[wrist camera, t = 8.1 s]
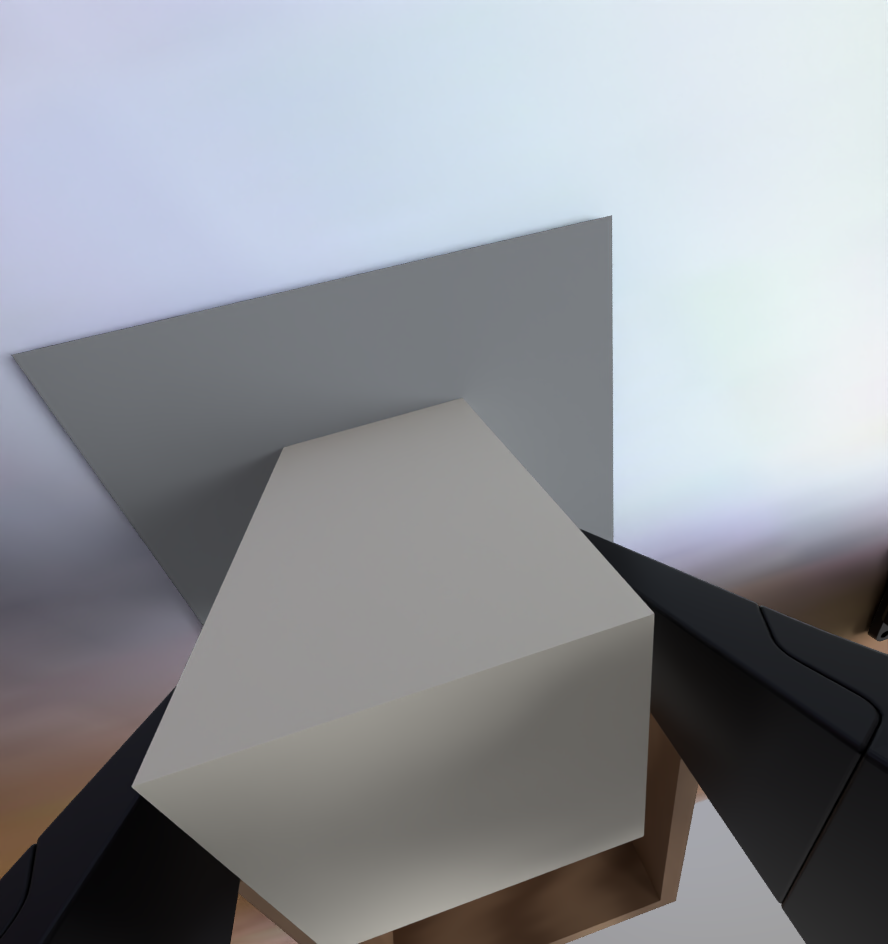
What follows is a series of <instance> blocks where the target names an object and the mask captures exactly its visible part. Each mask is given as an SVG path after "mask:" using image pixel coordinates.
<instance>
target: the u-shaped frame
mask: <svg viewBox="0 0 888 944" xmlns="http://www.w3.org/2000/svg"><path fill="white" fill-rule="evenodd" d="M697 788H698V782H697V781H696V779H695V778H694V776H693V775H692V774H691V772H690V771H689V769H688V768H687V766H686V765H685V763H684V762H683V760H682V759H681V757H680V756H679V754H678V753H677V751H676V750H675V748H674V747H673V745H672V744H671V742H670V741H669V739H668V738H667V736H666V735H665V734H664V732H663V731H662V729H661V728H660V726H659V725H658V723H657V722H656V720H655V719H654V717H653V716H652V714H651V713H650V718H649V739H648V760H647V780H646V801H645V822H644V836H643V837H640V838H638V839H635V840H632V841H630V842H627V843H624V844H622V845H619V846H616V847H614V848H611V849H608V850H606V851H603V852H600V853H598V854H595V855H592V856H590V857H587V858H584V859H582V860H579V861H576V862H574V863H571V864H568V865H566V866H563V867H560V868H558V869H555V870H553V871H550V872H547V873H545V874H542V875H539V876H537V877H534V878H531V879H529V880H526V881H523V882H521V883H518V884H515V885H513V886H510V887H507V888H505V889H502V890H499V891H497V892H494V893H491V894H489V895H486V896H483V897H481V898H478V899H475V900H473V901H470V902H467V903H465V904H462V905H459V906H457V907H454V908H451V909H449V910H446V911H443V912H441V913H438V914H435V915H433V916H430V917H427V918H425V919H422V920H419V921H417V922H414V923H411V924H409V925H406V926H403V927H401V928H398V929H395V930H393V931H390V932H388V933H385V934H382V935H380V936H377V937H374V938H372V939H369V940H366V941H364V942H361V943H358V944H565V943H568V942H570V941H573V940H576V939H578V938H581V937H584V936H586V935H588V934H591V933H594V932H596V931H599V930H602V929H604V928H607V927H609V926H612V925H615V924H617V923H620V922H622V921H625V920H627V919H630V918H633V917H635V916H638V915H640V914H643V913H645V912H648V911H651V910H653V909H656V908H658V907H661V906H664V905H666V904H669V903H671V902H674V901H676V897H677V892H678V887H679V881H680V876H681V871H682V866H683V861H684V855H685V850H686V845H687V840H688V835H689V830H690V824H691V819H692V814H693V809H694V804H695V799H696V793H697ZM238 893H239V894H240V895H241V896H243V897H244V898H245V899H246V900H247V901H249V902H250V903H251V904H252V905H253V906H254V907H256V908H257V909H258V910H259V911H260V912H262V913H263V914H264V915H265V916H266V917H268V918H269V919H270V920H271V921H272V922H274V923H275V924H276V925H277V926H278V927H280V928H281V929H282V930H283V931H284V932H286V933H287V934H288V935H289V936H290V937H292V938H293V939H294V940H295V941H296V942H298V943H299V944H317V943H316V942H315V941H313V940H312V939H311V938H310V937H309V936H307V935H306V934H305V933H304V932H303V931H302V930H300V929H299V928H298V927H297V926H296V925H294V924H293V923H292V922H291V921H290V920H289V919H287V918H286V917H285V916H284V915H283V914H281V913H280V912H279V911H278V910H277V909H275V908H274V907H273V906H272V905H271V904H270V903H268V902H267V901H266V900H265V899H264V898H262V897H261V896H260V895H259V894H258V893H257V892H255V891H254V890H253V889H252V888H251V887H249V886H248V885H247V884H246V883H245V882H243V881H242V880H241V879H240V885H239V891H238Z"/></svg>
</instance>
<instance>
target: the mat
mask: <svg viewBox="0 0 888 944" xmlns="http://www.w3.org/2000/svg"><path fill="white" fill-rule="evenodd" d="M12 357H13V358H14V359H15V361H16V362H17V364H18V365H19V366H20V368H21V369H22V371H23V372H24V373H25V375H26V376H27V378H28V379H29V381H30V382H31V383H32V385H33V386H34V388H35V389H36V390H37V392H38V393H39V395H40V396H41V397H42V399H43V400H44V402H45V403H46V405H47V406H48V407H49V409H50V410H51V412H52V413H53V414H54V416H55V417H56V419H57V420H58V421H59V423H60V424H61V426H62V427H63V429H64V430H65V431H66V433H67V434H68V436H69V437H70V438H71V440H72V441H73V443H74V444H75V445H76V447H77V448H78V450H79V451H80V453H81V454H82V455H83V457H84V458H85V460H86V461H87V462H88V464H89V465H90V467H91V468H92V469H93V471H94V472H95V474H96V475H97V477H98V478H99V479H100V481H101V482H102V484H103V485H104V486H105V488H106V489H107V491H108V492H109V493H110V495H111V496H112V498H113V499H114V501H115V502H116V503H117V505H118V506H119V508H120V509H121V510H122V512H123V513H124V515H125V516H126V517H127V519H128V520H129V522H130V523H131V525H132V526H133V527H134V529H135V530H136V532H137V533H138V534H139V536H140V537H141V539H142V540H143V541H144V543H145V544H146V546H147V547H148V549H149V550H150V551H151V553H152V554H153V556H154V557H155V558H156V560H157V561H158V563H159V564H160V565H161V567H162V568H163V570H164V571H165V573H166V574H167V575H168V577H169V578H170V580H171V581H172V582H173V584H174V585H175V587H176V588H177V589H178V591H179V592H180V594H181V595H182V597H183V598H184V599H185V601H186V602H187V604H188V605H189V606H190V608H191V609H192V611H193V612H194V613H195V615H196V616H197V618H198V619H199V621H200V622H201V623H202V625H203V626H204V624H205V622H206V619H207V617H208V615H209V613H210V610H211V608H212V606H213V604H214V601H215V599H216V597H217V595H218V593H219V590H220V588H221V586H222V584H223V581H224V579H225V577H226V575H227V572H228V570H229V568H230V566H231V564H232V561H233V559H234V557H235V555H236V552H237V550H238V548H239V546H240V543H241V541H242V539H243V537H244V535H245V532H246V530H247V528H248V526H249V523H250V521H251V519H252V517H253V514H254V512H255V510H256V508H257V506H258V503H259V501H260V499H261V497H262V494H263V492H264V490H265V488H266V485H267V483H268V481H269V479H270V477H271V474H272V472H273V470H274V468H275V465H276V463H277V461H278V459H279V456H280V454H281V452H282V450H283V448H284V447H287V446H290V445H294V444H297V443H301V442H305V441H308V440H312V439H316V438H319V437H323V436H326V435H330V434H334V433H337V432H341V431H344V430H348V429H352V428H355V427H359V426H362V425H366V424H370V423H373V422H377V421H381V420H384V419H388V418H391V417H395V416H399V415H402V414H406V413H409V412H413V411H417V410H420V409H424V408H428V407H431V406H435V405H438V404H442V403H446V402H449V401H453V400H456V399H460V398H463V399H464V400H465V401H466V402H467V404H468V405H469V406H470V407H471V408H472V409H473V410H474V411H475V413H476V414H477V415H478V416H479V417H480V418H481V419H482V420H483V422H484V423H485V424H486V425H487V426H488V427H489V428H490V429H491V431H492V432H493V433H494V434H495V435H496V436H497V437H498V438H499V440H500V441H501V442H502V443H503V444H504V445H505V446H506V447H507V449H508V450H509V451H510V452H511V453H512V454H513V455H514V456H515V458H516V459H517V460H518V461H519V462H520V463H521V464H522V465H523V466H524V468H525V469H526V470H527V471H528V472H529V473H530V474H531V475H532V477H533V478H534V479H535V480H536V481H537V482H538V483H539V484H540V486H541V487H542V488H543V489H544V490H545V491H546V492H547V493H548V495H549V496H550V497H551V498H552V499H553V500H554V501H555V502H556V504H557V505H558V506H559V507H560V508H561V509H562V510H563V511H564V513H565V514H566V515H567V516H568V517H569V518H570V519H571V520H572V522H573V523H574V524H575V525H576V526H577V527H578V528H579V529H583V530H585V531H587V532H590V533H592V534H594V535H597V536H599V537H602V538H604V539H606V540H609V541H611V542H613V346H612V216H607V217H603V218H599V219H595V220H590V221H586V222H582V223H577V224H573V225H569V226H564V227H560V228H556V229H551V230H547V231H543V232H539V233H534V234H530V235H526V236H521V237H517V238H513V239H508V240H504V241H500V242H496V243H491V244H487V245H483V246H478V247H474V248H470V249H465V250H461V251H457V252H453V253H448V254H444V255H440V256H435V257H431V258H427V259H422V260H418V261H414V262H410V263H405V264H401V265H397V266H392V267H388V268H384V269H379V270H375V271H371V272H366V273H362V274H358V275H354V276H349V277H345V278H341V279H336V280H332V281H328V282H323V283H319V284H315V285H311V286H306V287H302V288H298V289H293V290H289V291H285V292H280V293H276V294H272V295H268V296H263V297H259V298H255V299H250V300H246V301H242V302H237V303H233V304H229V305H225V306H220V307H216V308H212V309H207V310H203V311H199V312H194V313H190V314H186V315H181V316H177V317H173V318H169V319H164V320H160V321H156V322H151V323H147V324H143V325H138V326H134V327H130V328H126V329H121V330H117V331H113V332H108V333H104V334H100V335H95V336H91V337H87V338H83V339H78V340H74V341H70V342H65V343H61V344H57V345H52V346H48V347H44V348H40V349H35V350H31V351H27V352H22V353H18V354H14V355H12Z"/></svg>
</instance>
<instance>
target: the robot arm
mask: <svg viewBox="0 0 888 944" xmlns="http://www.w3.org/2000/svg"><path fill="white" fill-rule="evenodd" d="M580 531H581V532H582V533H583V534H584V535H585V536H586V537H587V538H588V539H589V541H590V542H591V543H592V544H593V545H594V546H595V547H596V548H597V550H598V551H599V552H600V553H601V554H602V555H603V556H604V557H605V559H606V560H607V561H608V562H609V563H610V564H611V565H612V566H613V568H614V569H615V570H616V571H617V572H618V573H619V574H620V575H621V577H622V578H623V579H624V580H625V581H626V582H627V583H628V584H629V586H630V587H631V588H632V589H633V590H634V591H635V592H636V593H637V595H638V596H639V597H640V598H641V599H642V600H643V601H644V602H645V604H646V605H647V606H648V607H649V608H650V609H651V610H652V611H653V612H654V634H653V655H652V676H651V697H650V713H651V714H652V716H653V717H654V719H655V720H656V722H657V723H658V725H659V726H660V728H661V729H662V731H663V732H664V734H665V735H666V736H667V738H668V739H669V741H670V742H671V744H672V745H673V747H674V748H675V750H676V751H677V753H678V754H679V756H680V757H681V759H682V760H683V762H684V763H685V765H686V766H687V768H688V769H689V771H690V772H691V774H692V775H693V776H694V778H695V779H696V781H697V782H698V784H699V785H700V787H701V788H702V790H703V791H704V793H705V794H706V796H707V797H708V799H709V800H710V802H711V803H712V805H713V806H714V808H715V809H716V811H717V812H718V813H719V815H720V816H721V818H722V819H723V821H724V822H725V824H726V825H727V827H728V828H729V830H730V831H731V833H732V834H733V836H734V837H735V839H736V840H737V842H738V843H739V845H740V846H741V847H742V849H743V850H744V852H745V854H746V855H747V856H748V858H749V859H750V861H751V862H752V864H753V865H754V867H755V868H756V870H757V871H758V873H759V874H760V876H761V877H762V879H763V880H764V882H765V883H766V885H767V886H768V888H769V889H770V890H771V892H772V894H773V895H774V896H775V898H776V899H777V901H778V902H779V903H781V904H782V905H781V906H782V909H783V910H784V912H785V913H786V915H787V916H788V917H789V919H790V921H791V922H792V924H793V925H794V927H795V928H796V929H797V931H798V933H799V934H800V935H801V937H802V938H803V940H804V941H805V943H806V944H888V654H885V653H882V652H879V651H877V650H874V649H871V648H869V647H866V646H863V645H861V644H858V643H855V642H852V641H850V640H847V639H844V638H842V637H839V636H836V635H834V634H831V633H828V632H826V631H823V630H821V629H818V628H816V627H813V626H811V625H809V624H806V623H804V622H801V621H799V620H796V619H794V618H791V617H789V616H786V615H784V614H782V613H779V612H777V611H774V610H772V609H770V608H767V607H765V606H760V607H759V606H758V604H757V603H755V602H753V601H750V600H748V599H746V598H743V597H741V596H739V595H736V594H734V593H732V592H729V591H727V590H724V589H722V588H720V587H717V586H715V585H713V584H710V583H708V582H706V581H703V580H701V579H698V578H696V577H694V576H691V575H689V574H687V573H684V572H682V571H680V570H677V569H675V568H672V567H670V566H668V565H665V564H663V563H661V562H658V561H656V560H654V559H651V558H649V557H646V556H644V555H642V554H639V553H637V552H635V551H632V550H630V549H628V548H625V547H623V546H620V545H618V544H616V543H613V542H611V541H609V540H606V539H604V538H602V537H599V536H597V535H594V534H592V533H590V532H587V531H585V530H583V529H580ZM868 635H870V636H871V637H872V638H874V639H875V640H877V641H883V640H886V639H888V587H887V589H886V591H885V594H884V596H883V598H882V601H881V603H880V605H879V607H878V610H877V612H876V614H875V617H874V619H873V621H872V623H871V626H870V628H869V630H868ZM175 688H176V687H175ZM175 688H174V689H173V690H172V691H171V692H170V694H169V695H168V696H167V697H166V698H165V699H164V700H163V701H162V702H161V703H160V705H159V706H158V707H157V708H156V709H155V710H154V711H153V712H152V713H151V714H150V716H149V717H148V718H147V719H146V720H145V721H144V722H143V723H142V724H141V725H140V727H139V728H138V729H137V730H136V731H135V732H134V733H133V734H132V735H131V736H130V738H129V739H128V740H127V741H126V742H125V743H124V744H123V745H122V746H121V747H120V749H119V750H118V751H117V752H116V753H115V754H114V755H113V756H112V757H111V759H110V760H109V761H108V762H107V763H106V764H105V765H104V766H103V767H102V768H101V770H100V771H99V772H98V773H97V774H96V775H95V776H94V777H93V778H92V779H91V781H90V782H89V783H88V784H87V785H86V786H85V787H84V788H83V789H82V790H81V792H80V793H79V794H78V795H77V796H76V797H75V798H74V799H73V800H72V801H71V803H70V804H69V805H68V806H67V807H66V808H65V809H64V810H63V811H62V812H61V814H60V815H59V816H58V817H57V818H56V819H55V820H54V821H53V822H52V823H51V825H50V826H49V827H48V828H47V829H46V830H45V831H44V832H43V833H42V834H41V836H40V837H39V838H38V840H37V844H33V845H32V846H30V848H29V849H28V850H27V851H26V852H25V853H24V854H23V855H22V856H21V858H20V859H19V860H18V861H17V862H16V863H15V864H14V865H13V866H12V867H11V869H10V870H9V871H8V872H7V873H6V874H5V875H4V876H3V877H2V878H1V880H0V944H230V942H231V936H232V929H233V923H234V917H235V910H236V904H237V898H238V891H239V885H240V878H239V877H238V876H236V875H235V874H234V873H233V872H232V871H230V870H229V869H228V868H227V867H226V866H224V865H223V864H222V863H221V862H220V861H219V860H217V859H216V858H215V857H214V856H213V855H211V854H210V853H209V852H208V851H207V850H206V849H204V848H203V847H202V846H201V845H200V844H198V843H197V842H196V841H195V840H194V839H192V838H191V837H190V836H189V835H188V834H187V833H185V832H184V831H183V830H182V829H181V828H179V827H178V826H177V825H176V824H175V823H174V822H172V821H171V820H170V819H169V818H168V817H166V816H165V815H164V814H163V813H162V812H160V811H159V810H158V809H157V808H156V807H155V806H153V805H152V804H151V803H150V802H149V801H147V800H146V799H145V798H144V797H143V796H142V795H140V794H139V793H138V792H137V791H136V790H134V789H133V788H132V784H133V782H134V780H135V778H136V775H137V773H138V771H139V769H140V767H141V764H142V762H143V760H144V758H145V755H146V753H147V751H148V749H149V746H150V744H151V742H152V740H153V738H154V735H155V733H156V731H157V729H158V726H159V724H160V722H161V720H162V717H163V715H164V713H165V711H166V709H167V706H168V704H169V702H170V700H171V697H172V695H173V693H174V691H175Z"/></svg>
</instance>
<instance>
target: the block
mask: <svg viewBox="0 0 888 944" xmlns="http://www.w3.org/2000/svg"><path fill="white" fill-rule="evenodd" d="M653 634H654V612H653V611H652V610H651V609H650V608H649V607H648V606H647V605H646V604H645V602H644V601H643V600H642V599H641V598H640V597H639V596H638V595H637V593H636V592H635V591H634V590H633V589H632V588H631V587H630V586H629V584H628V583H627V582H626V581H625V580H624V579H623V578H622V577H621V575H620V574H619V573H618V572H617V571H616V570H615V569H614V568H613V566H612V565H611V564H610V563H609V562H608V561H607V560H606V559H605V557H604V556H603V555H602V554H601V553H600V552H599V551H598V550H597V548H596V547H595V546H594V545H593V544H592V543H591V542H590V541H589V539H588V538H587V537H586V536H585V535H584V534H583V533H582V532H581V531H580V529H579V528H578V527H577V526H576V525H575V524H574V523H573V522H572V520H571V519H570V518H569V517H568V516H567V515H566V514H565V513H564V511H563V510H562V509H561V508H560V507H559V506H558V505H557V504H556V502H555V501H554V500H553V499H552V498H551V497H550V496H549V495H548V493H547V492H546V491H545V490H544V489H543V488H542V487H541V486H540V484H539V483H538V482H537V481H536V480H535V479H534V478H533V477H532V475H531V474H530V473H529V472H528V471H527V470H526V469H525V468H524V466H523V465H522V464H521V463H520V462H519V461H518V460H517V459H516V458H515V456H514V455H513V454H512V453H511V452H510V451H509V450H508V449H507V447H506V446H505V445H504V444H503V443H502V442H501V441H500V440H499V438H498V437H497V436H496V435H495V434H494V433H493V432H492V431H491V429H490V428H489V427H488V426H487V425H486V424H485V423H484V422H483V420H482V419H481V418H480V417H479V416H478V415H477V414H476V413H475V411H474V410H473V409H472V408H471V407H470V406H469V405H468V404H467V402H466V401H465V400H464V399H463V398H460V399H456V400H453V401H449V402H446V403H442V404H438V405H435V406H431V407H428V408H424V409H420V410H417V411H413V412H409V413H406V414H402V415H399V416H395V417H391V418H388V419H384V420H381V421H377V422H373V423H370V424H366V425H362V426H359V427H355V428H352V429H348V430H344V431H341V432H337V433H334V434H330V435H326V436H323V437H319V438H316V439H312V440H308V441H305V442H301V443H297V444H294V445H290V446H287V447H284V448H283V450H282V452H281V454H280V456H279V459H278V461H277V463H276V465H275V468H274V470H273V472H272V474H271V477H270V479H269V481H268V483H267V485H266V488H265V490H264V492H263V494H262V497H261V499H260V501H259V503H258V506H257V508H256V510H255V512H254V514H253V517H252V519H251V521H250V523H249V526H248V528H247V530H246V532H245V535H244V537H243V539H242V541H241V543H240V546H239V548H238V550H237V552H236V555H235V557H234V559H233V561H232V564H231V566H230V568H229V570H228V572H227V575H226V577H225V579H224V581H223V584H222V586H221V588H220V590H219V593H218V595H217V597H216V599H215V601H214V604H213V606H212V608H211V610H210V613H209V615H208V617H207V619H206V622H205V624H204V626H203V628H202V630H201V633H200V635H199V637H198V639H197V642H196V644H195V646H194V648H193V651H192V653H191V655H190V657H189V659H188V662H187V664H186V666H185V668H184V671H183V673H182V675H181V677H180V680H179V682H178V684H177V686H176V688H175V691H174V693H173V695H172V697H171V700H170V702H169V704H168V706H167V709H166V711H165V713H164V715H163V717H162V720H161V722H160V724H159V726H158V729H157V731H156V733H155V735H154V738H153V740H152V742H151V744H150V746H149V749H148V751H147V753H146V755H145V758H144V760H143V762H142V764H141V767H140V769H139V771H138V773H137V775H136V778H135V780H134V782H133V784H132V788H133V789H134V790H136V791H137V792H138V793H139V794H140V795H142V796H143V797H144V798H145V799H146V800H147V801H149V802H150V803H151V804H152V805H153V806H155V807H156V808H157V809H158V810H159V811H160V812H162V813H163V814H164V815H165V816H166V817H168V818H169V819H170V820H171V821H172V822H174V823H175V824H176V825H177V826H178V827H179V828H181V829H182V830H183V831H184V832H185V833H187V834H188V835H189V836H190V837H191V838H192V839H194V840H195V841H196V842H197V843H198V844H200V845H201V846H202V847H203V848H204V849H206V850H207V851H208V852H209V853H210V854H211V855H213V856H214V857H215V858H216V859H217V860H219V861H220V862H221V863H222V864H223V865H224V866H226V867H227V868H228V869H229V870H230V871H232V872H233V873H234V874H235V875H236V876H238V877H239V878H240V879H241V880H242V881H243V882H245V883H246V884H247V885H248V886H249V887H251V888H252V889H253V890H254V891H255V892H257V893H258V894H259V895H260V896H261V897H262V898H264V899H265V900H266V901H267V902H268V903H270V904H271V905H272V906H273V907H274V908H275V909H277V910H278V911H279V912H280V913H281V914H283V915H284V916H285V917H286V918H287V919H289V920H290V921H291V922H292V923H293V924H294V925H296V926H297V927H298V928H299V929H300V930H302V931H303V932H304V933H305V934H306V935H307V936H309V937H310V938H311V939H312V940H313V941H315V942H316V943H317V944H358V943H361V942H364V941H366V940H369V939H372V938H374V937H377V936H380V935H382V934H385V933H388V932H390V931H393V930H395V929H398V928H401V927H403V926H406V925H409V924H411V923H414V922H417V921H419V920H422V919H425V918H427V917H430V916H433V915H435V914H438V913H441V912H443V911H446V910H449V909H451V908H454V907H457V906H459V905H462V904H465V903H467V902H470V901H473V900H475V899H478V898H481V897H483V896H486V895H489V894H491V893H494V892H497V891H499V890H502V889H505V888H507V887H510V886H513V885H515V884H518V883H521V882H523V881H526V880H529V879H531V878H534V877H537V876H539V875H542V874H545V873H547V872H550V871H553V870H555V869H558V868H560V867H563V866H566V865H568V864H571V863H574V862H576V861H579V860H582V859H584V858H587V857H590V856H592V855H595V854H598V853H600V852H603V851H606V850H608V849H611V848H614V847H616V846H619V845H622V844H624V843H627V842H630V841H632V840H635V839H638V838H640V837H643V836H644V822H645V801H646V780H647V760H648V739H649V718H650V697H651V676H652V655H653Z"/></svg>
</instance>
